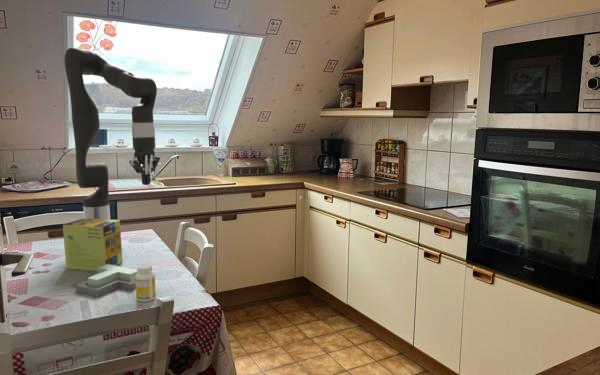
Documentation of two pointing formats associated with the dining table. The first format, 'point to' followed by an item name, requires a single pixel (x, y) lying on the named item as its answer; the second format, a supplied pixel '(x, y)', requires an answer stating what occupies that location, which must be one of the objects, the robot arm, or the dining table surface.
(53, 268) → the dining table surface
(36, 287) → the dining table surface
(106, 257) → the protein box
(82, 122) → the robot arm
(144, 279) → the supplement bottle
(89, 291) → the t dock
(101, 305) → the dining table surface
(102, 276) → the t block
